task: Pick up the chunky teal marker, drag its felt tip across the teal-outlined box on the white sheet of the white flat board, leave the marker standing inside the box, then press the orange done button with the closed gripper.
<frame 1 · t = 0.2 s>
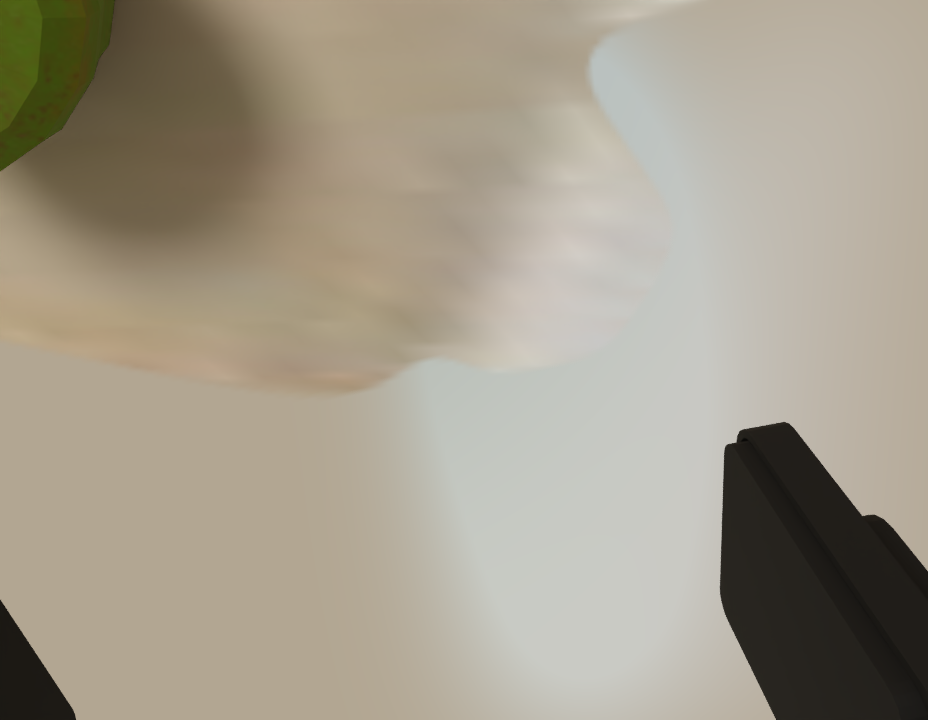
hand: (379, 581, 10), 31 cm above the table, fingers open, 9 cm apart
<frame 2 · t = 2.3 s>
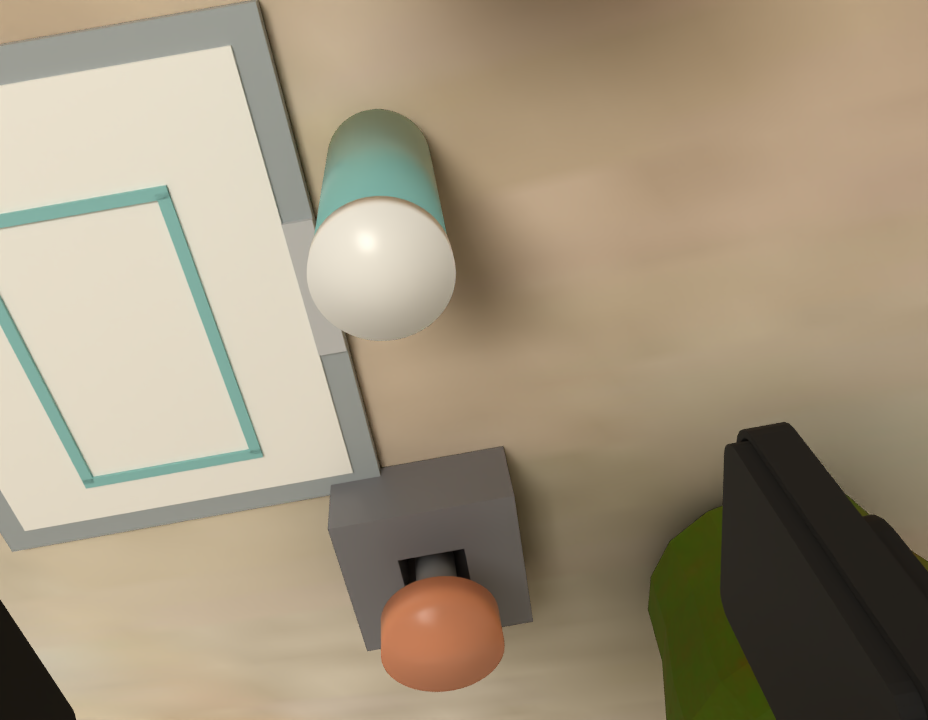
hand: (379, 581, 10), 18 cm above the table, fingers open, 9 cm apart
marker: (379, 154, 25), on the table
apple: (748, 547, 37), on the table
done button: (438, 602, 30), point 4 cm above the table, slide at 0.0 cm
button housing: (431, 525, 34), on the table
white flat board: (116, 317, 27), on the table
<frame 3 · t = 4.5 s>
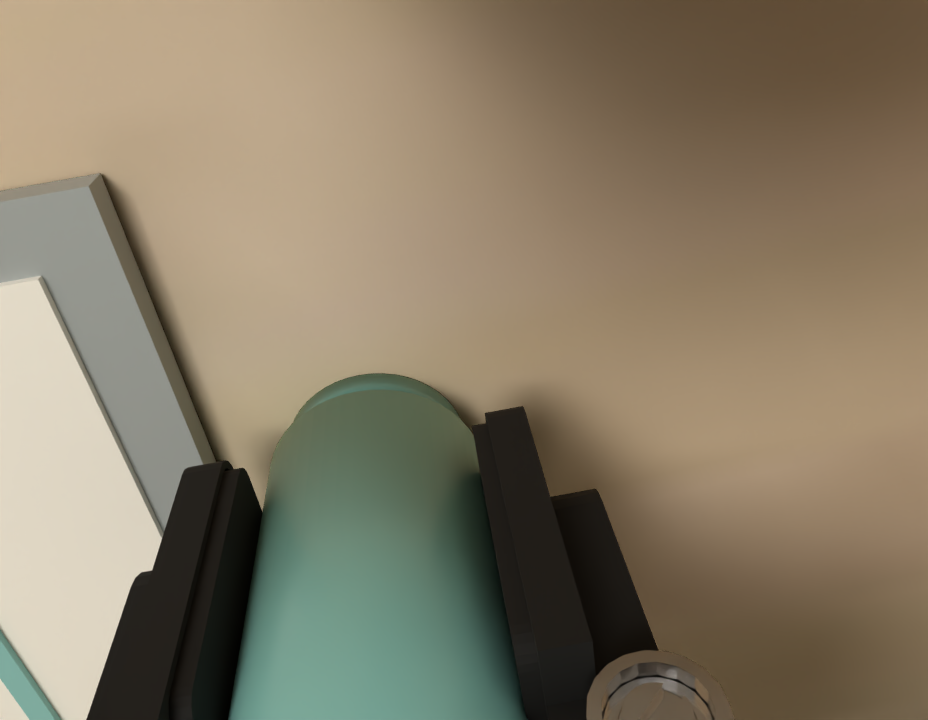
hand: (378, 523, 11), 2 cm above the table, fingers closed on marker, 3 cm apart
marker: (377, 448, 13), on the table, touching gripper
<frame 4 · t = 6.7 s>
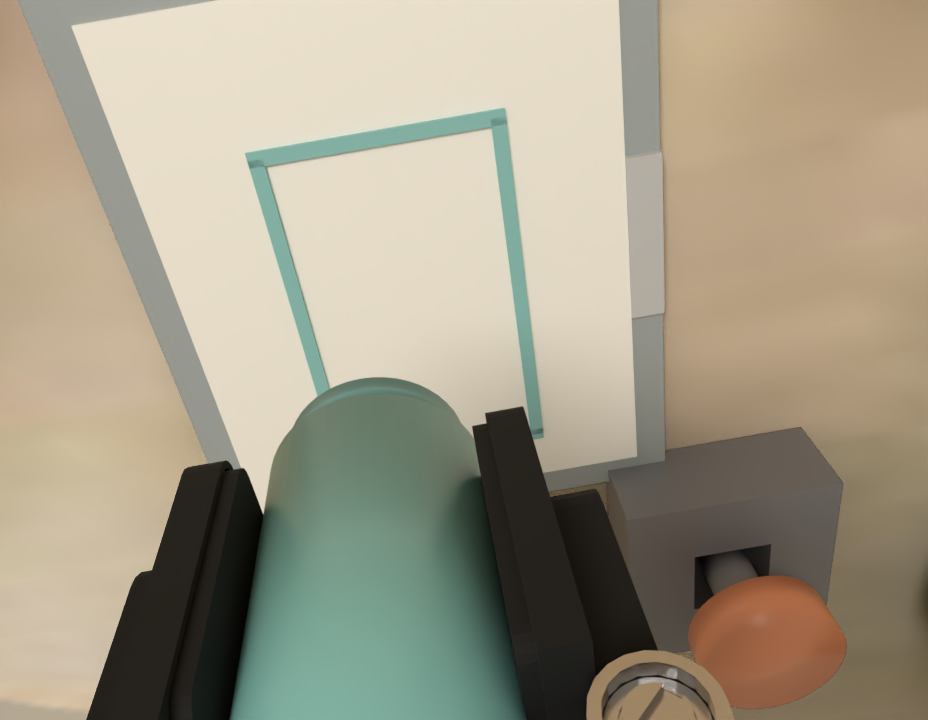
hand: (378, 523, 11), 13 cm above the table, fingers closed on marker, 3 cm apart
marker: (378, 451, 13), point 11 cm above the table, touching gripper
done button: (746, 606, 26), point 4 cm above the table, slide at 0.0 cm
button housing: (701, 517, 30), on the table
white flat board: (405, 271, 23), on the table
when the fingers open (3 cm above the table, at t = 9.3 s): marker stays where it is, resting on white flat board.
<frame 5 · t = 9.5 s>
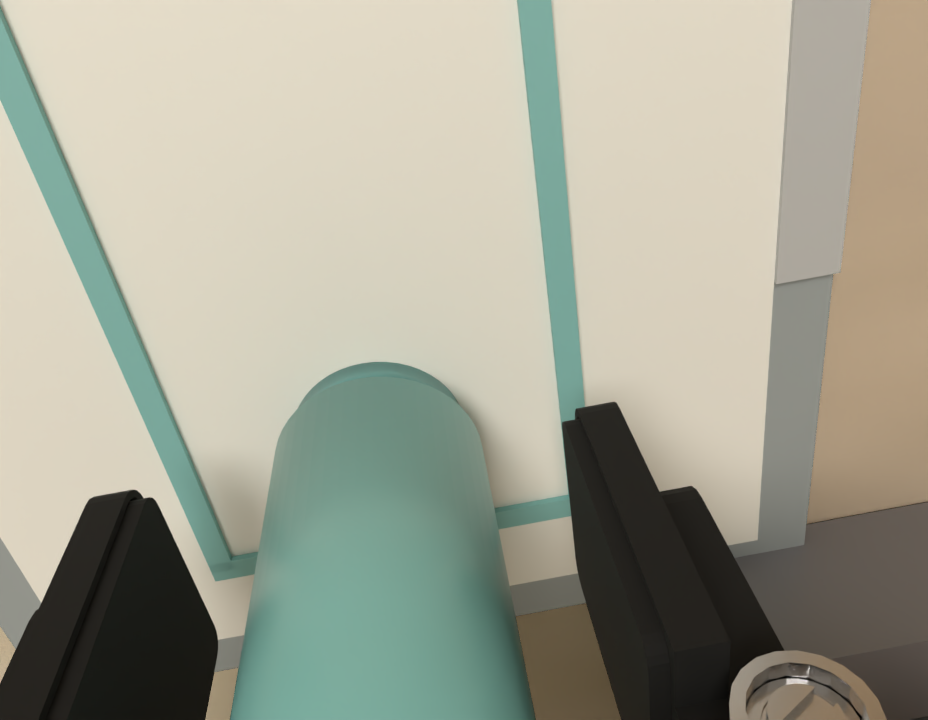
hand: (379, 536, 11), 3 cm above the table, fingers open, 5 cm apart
marker: (379, 435, 13), point 1 cm above the table, touching white flat board
button housing: (847, 629, 18), on the table
white flat board: (319, 188, 11), on the table
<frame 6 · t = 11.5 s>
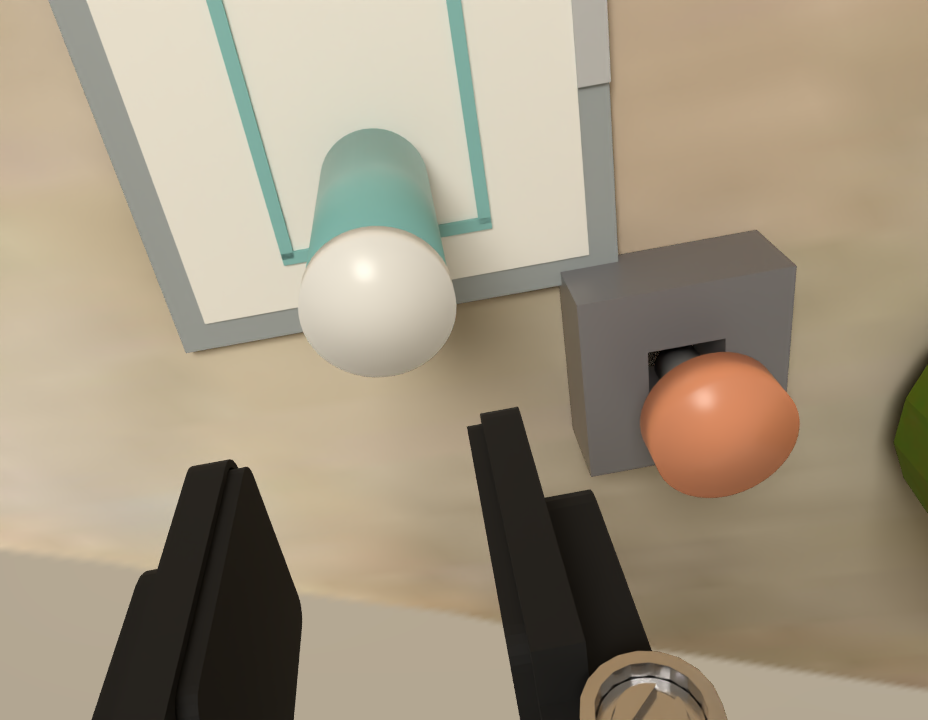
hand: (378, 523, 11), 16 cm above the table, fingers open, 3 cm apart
marker: (374, 174, 24), point 1 cm above the table, touching white flat board
done button: (700, 399, 26), point 4 cm above the table, slide at 0.0 cm
button housing: (659, 334, 29), on the table
white flat board: (344, 33, 23), on the table
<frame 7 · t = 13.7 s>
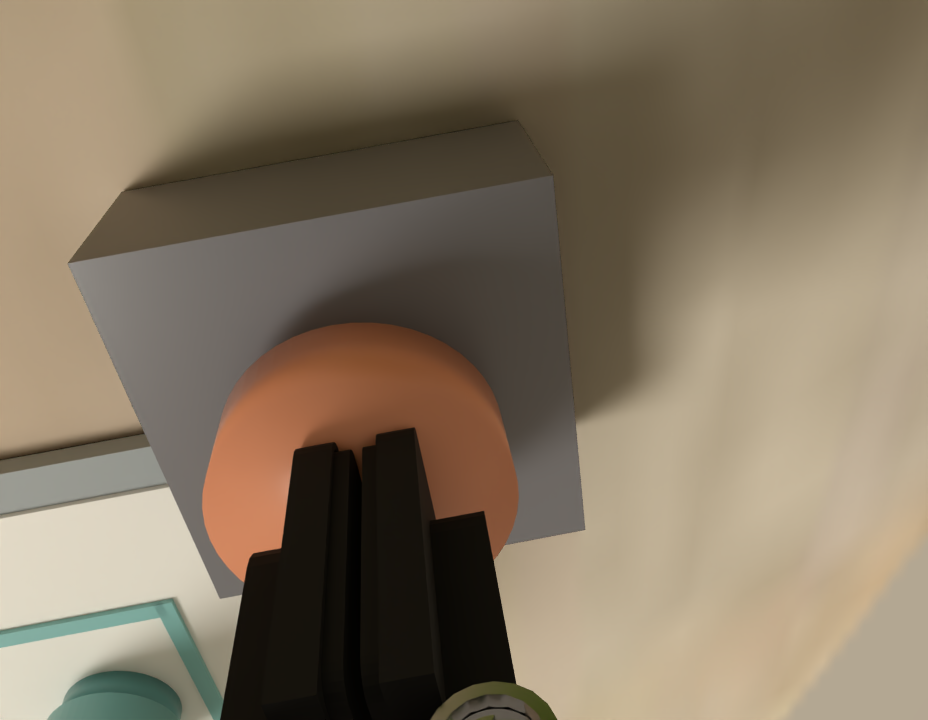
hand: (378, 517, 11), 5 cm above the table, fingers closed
marker: (123, 708, 20), point 1 cm above the table, touching white flat board
done button: (363, 418, 13), point 3 cm above the table, slide at 1.2 cm, touching gripper
button housing: (363, 328, 16), on the table
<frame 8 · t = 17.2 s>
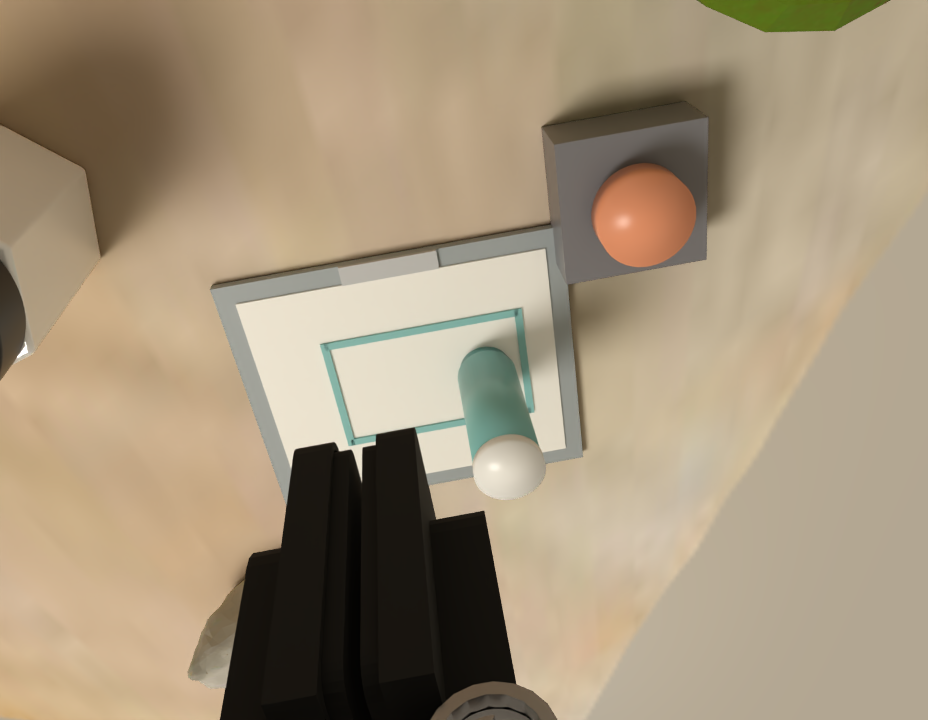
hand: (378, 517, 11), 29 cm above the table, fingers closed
marker: (485, 368, 44), point 1 cm above the table, touching white flat board
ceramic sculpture: (318, 604, 53), on the table
done button: (633, 204, 37), point 3 cm above the table, slide at 1.3 cm
jar: (9, 209, 38), on the table
button housing: (617, 184, 40), on the table
white flat board: (413, 376, 44), on the table
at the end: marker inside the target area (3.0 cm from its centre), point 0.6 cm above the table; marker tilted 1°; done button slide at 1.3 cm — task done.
